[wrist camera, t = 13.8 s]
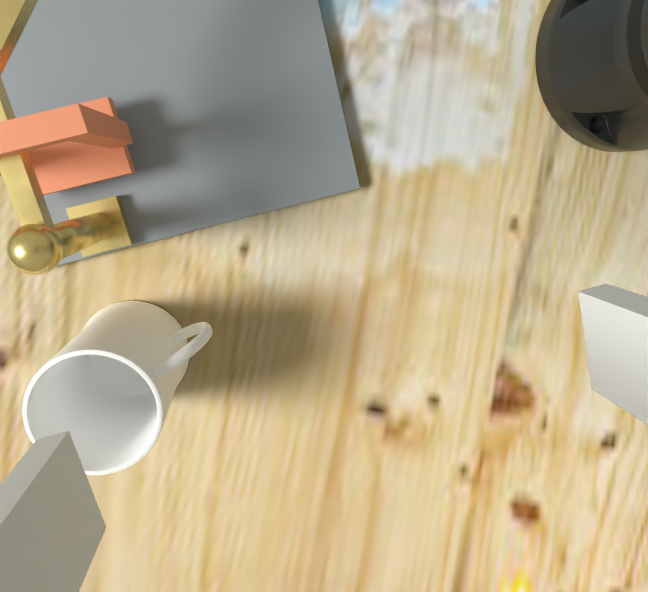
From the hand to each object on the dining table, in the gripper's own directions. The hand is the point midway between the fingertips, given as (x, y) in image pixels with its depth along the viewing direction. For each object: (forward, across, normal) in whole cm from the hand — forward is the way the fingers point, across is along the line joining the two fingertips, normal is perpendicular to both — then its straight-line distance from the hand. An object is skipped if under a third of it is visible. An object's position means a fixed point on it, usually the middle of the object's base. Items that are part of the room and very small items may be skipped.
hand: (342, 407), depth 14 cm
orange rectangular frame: (+29, -12, +10) cm, 33 cm away
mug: (+32, -12, -5) cm, 34 cm away
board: (+32, -6, +13) cm, 35 cm away
